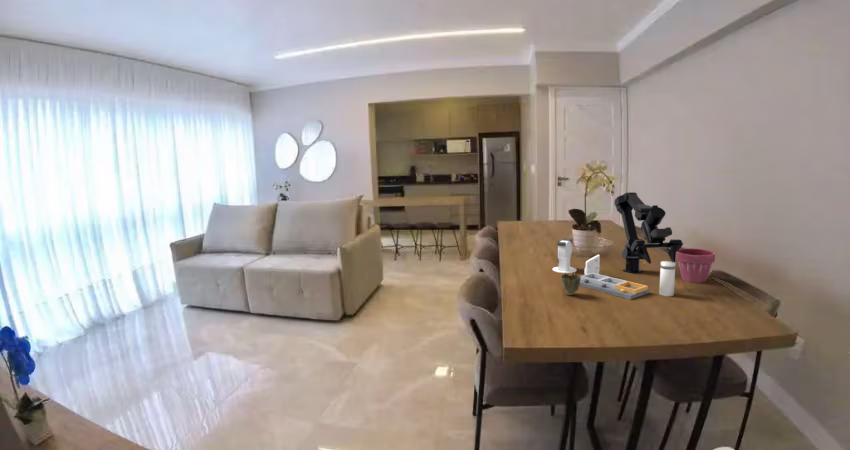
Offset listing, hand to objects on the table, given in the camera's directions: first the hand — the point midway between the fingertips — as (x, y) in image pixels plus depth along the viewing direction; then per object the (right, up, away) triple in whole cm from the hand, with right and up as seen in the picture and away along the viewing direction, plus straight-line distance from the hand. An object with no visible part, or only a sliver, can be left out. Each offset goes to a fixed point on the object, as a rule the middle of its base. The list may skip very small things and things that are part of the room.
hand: (662, 263), depth 167 cm
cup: (-37, -13, +1) cm, 39 cm away
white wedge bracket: (-18, -8, +27) cm, 33 cm away
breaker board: (-18, -11, +7) cm, 22 cm away
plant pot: (+22, -9, +14) cm, 27 cm away
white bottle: (0, -12, -3) cm, 13 cm away
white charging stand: (-27, -7, +38) cm, 47 cm away
